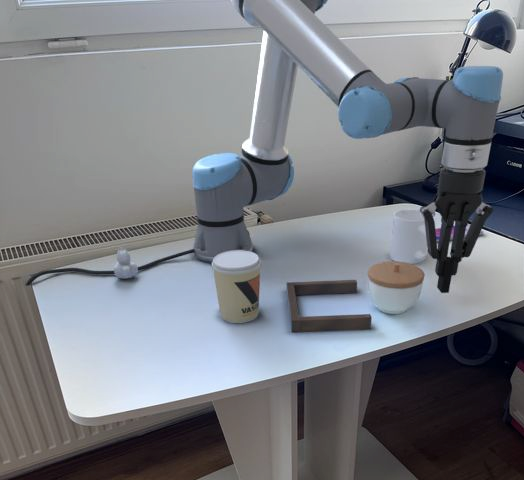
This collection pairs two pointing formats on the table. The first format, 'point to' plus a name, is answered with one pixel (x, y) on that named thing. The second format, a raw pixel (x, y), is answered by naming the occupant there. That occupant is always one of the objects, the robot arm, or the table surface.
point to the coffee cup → (237, 285)
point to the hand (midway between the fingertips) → (442, 289)
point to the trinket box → (394, 286)
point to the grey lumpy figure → (124, 265)
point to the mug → (408, 237)
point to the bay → (324, 321)
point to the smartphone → (452, 232)
